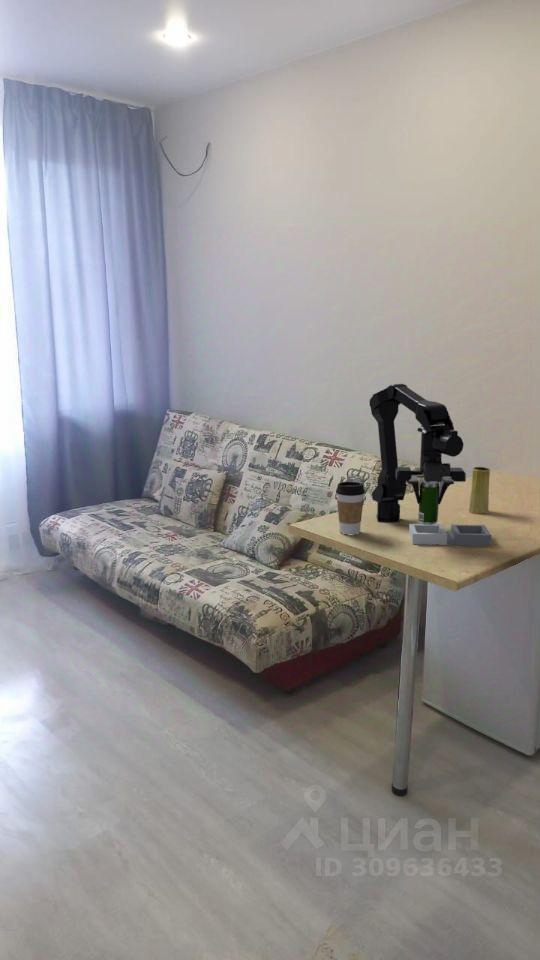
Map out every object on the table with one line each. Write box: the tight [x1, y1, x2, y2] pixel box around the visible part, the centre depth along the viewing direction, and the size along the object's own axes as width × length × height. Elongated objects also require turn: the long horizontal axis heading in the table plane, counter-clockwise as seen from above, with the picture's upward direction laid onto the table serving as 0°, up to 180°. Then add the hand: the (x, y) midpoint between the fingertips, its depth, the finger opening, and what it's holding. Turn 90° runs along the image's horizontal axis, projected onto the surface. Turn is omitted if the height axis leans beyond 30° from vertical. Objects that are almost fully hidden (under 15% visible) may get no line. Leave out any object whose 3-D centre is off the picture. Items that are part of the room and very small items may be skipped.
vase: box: [468, 466, 491, 515], centre depth 224 cm, size 6×6×14 cm
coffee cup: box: [335, 481, 366, 535], centre depth 205 cm, size 8×8×15 cm
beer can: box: [418, 479, 440, 525], centre depth 197 cm, size 5×5×12 cm
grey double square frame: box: [408, 523, 492, 546], centre depth 199 cm, size 21×9×3 cm, turn 85°
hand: (428, 503), depth 197 cm, fingers closed on beer can, 5 cm apart
